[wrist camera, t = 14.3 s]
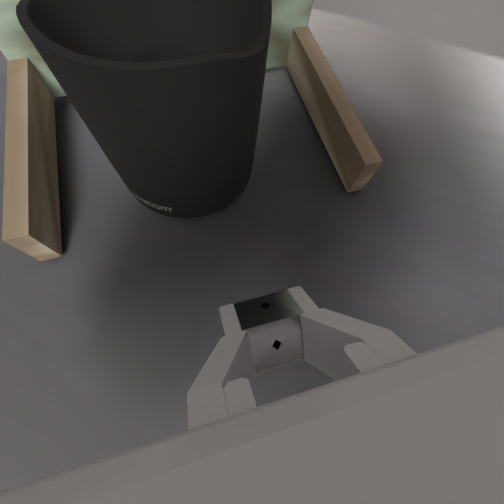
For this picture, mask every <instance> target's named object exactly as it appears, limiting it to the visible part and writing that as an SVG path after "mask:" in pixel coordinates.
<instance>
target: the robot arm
mask: <svg viewBox="0 0 504 504" xmlns="http://www.w3.org/2000/svg"><path fill="white" fill-rule="evenodd" d="M219 312H220V316H221V320H222V325H223V329H224V333H225V336H223V337H221V338H220V340H219V341H218V343H217V345H216V346H215V348H214V349H213V351H212V353H211V354H210V356H209V358H208V359H207V361H206V363H205V364H204V366H203V368H202V369H201V371H200V373H199V374H198V376H197V378H196V379H195V381H194V383H193V384H192V386H191V388H190V389H189V391H188V393H187V410H188V430H186V431H183V432H180V433H177V434H174V435H171V436H168V437H165V438H162V439H159V440H156V441H153V442H150V443H147V444H144V445H141V446H138V447H135V448H132V449H129V450H126V451H123V452H120V453H117V454H114V455H111V456H108V457H105V458H102V459H99V460H96V461H93V462H90V463H87V464H84V465H81V466H78V467H75V468H72V469H69V470H66V471H63V472H60V473H57V474H54V475H51V476H48V477H45V478H42V479H39V480H36V481H33V482H30V483H27V484H24V485H21V486H18V487H15V488H12V489H9V490H6V491H3V492H0V504H504V325H502V326H499V327H496V328H493V329H490V330H487V331H484V332H481V333H478V334H475V335H472V336H469V337H466V338H463V339H460V340H457V341H454V342H451V343H448V344H445V345H442V346H439V347H436V348H433V349H430V350H427V351H424V352H421V353H418V354H417V353H415V352H414V351H413V350H412V349H411V348H410V347H409V346H408V345H407V344H406V343H405V342H403V341H402V340H401V339H400V338H399V337H398V336H397V335H396V334H395V333H394V332H392V331H391V330H389V329H386V328H383V327H380V326H377V325H374V324H371V323H368V322H365V321H362V320H359V319H356V318H353V317H350V316H347V315H343V314H340V313H337V312H334V311H331V310H328V309H325V308H321V309H319V308H318V306H317V305H316V304H315V303H314V302H313V300H312V299H311V298H310V297H309V296H308V294H307V293H306V292H305V291H304V290H303V288H302V287H301V286H299V285H298V286H295V287H292V288H288V289H286V290H282V291H279V292H275V293H272V294H268V295H265V296H261V297H256V298H252V299H248V300H244V301H240V302H236V303H233V304H232V303H231V304H228V305H224V306H220V307H219ZM302 359H304V360H305V361H307V362H308V363H310V364H311V365H313V366H314V367H316V368H317V369H319V370H320V371H322V372H324V373H325V374H327V375H328V376H330V377H331V378H333V379H334V380H336V381H334V382H331V383H328V384H325V385H322V386H319V387H316V388H313V389H310V390H307V391H304V392H301V393H298V394H295V395H292V396H289V397H286V398H283V399H280V400H277V401H274V402H271V403H268V404H265V405H262V406H259V407H257V406H256V403H255V399H254V396H253V393H252V389H253V385H254V382H255V378H256V374H258V373H260V372H263V371H266V370H269V369H272V368H275V367H278V366H281V365H285V364H288V363H292V362H295V361H299V360H302Z"/></svg>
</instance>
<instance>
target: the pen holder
mask: <svg viewBox="0 0 504 504" xmlns="http://www.w3.org/2000/svg"><path fill="white" fill-rule="evenodd" d="M16 15H17V18H18V21H19V23H20V25H21V26H22V28H23V30H24V31H25V33H26V34H27V36H28V37H29V39H30V40H31V42H32V43H33V45H34V46H35V48H36V49H37V51H38V52H39V54H40V56H41V57H42V59H43V60H44V62H45V63H46V65H47V66H48V68H49V69H50V71H51V72H52V74H53V75H54V77H55V78H56V80H57V81H58V83H59V84H60V86H61V88H62V89H63V91H64V92H65V94H66V95H67V97H68V98H69V100H70V101H71V103H72V104H73V106H74V107H75V109H76V110H77V112H78V113H79V115H80V117H81V118H82V120H83V121H84V123H85V124H86V126H87V127H88V129H89V130H90V132H91V133H92V135H93V136H94V138H95V139H96V141H97V142H98V144H99V146H100V147H101V149H102V150H103V152H104V153H105V155H106V156H107V158H108V159H109V161H110V162H111V164H112V165H113V167H114V168H115V170H116V171H117V173H118V174H119V175H120V177H121V178H122V180H123V181H124V183H125V184H126V186H127V187H128V189H129V190H130V191H131V193H132V194H133V195H134V196H135V197H136V198H137V200H138V201H139V202H141V203H142V204H143V205H144V206H146V207H148V208H149V209H151V210H153V211H155V212H157V213H160V214H163V215H167V216H171V217H178V218H192V217H200V216H205V215H208V214H211V213H214V212H216V211H219V210H221V209H223V208H224V207H226V206H228V205H229V204H230V203H232V202H233V201H234V200H235V199H236V198H237V197H238V196H239V195H240V194H241V193H242V192H243V190H244V189H245V187H246V185H247V183H248V181H249V178H250V175H251V170H252V165H253V158H254V151H255V145H256V138H257V131H258V123H259V115H260V108H261V100H262V92H263V85H264V77H265V69H266V62H267V54H268V46H269V39H270V31H271V22H272V1H271V0H20V1H19V3H18V4H17V5H16Z"/></svg>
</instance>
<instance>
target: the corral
mask: <svg viewBox="0 0 504 504" xmlns="http://www.w3.org/2000/svg"><path fill="white" fill-rule="evenodd" d="M19 1H20V0H0V50H1V52H2V53H3V54H4V56H5V57H6V58H7V60H8V64H7V97H6V130H5V163H4V195H3V228H2V241H4V242H6V243H8V244H10V245H12V246H13V247H15V248H17V249H19V250H21V251H23V252H24V253H26V254H28V255H30V256H32V257H34V258H36V259H37V260H39V261H44V260H48V259H53V258H57V257H62V244H61V224H60V205H59V186H58V166H57V147H56V127H55V108H54V97H61V96H67V95H66V94H65V92H64V91H63V89H62V88H61V86H60V84H59V83H58V81H57V80H56V78H55V77H54V75H53V74H52V72H51V71H50V69H49V68H48V66H47V65H46V63H45V62H44V60H43V59H42V57H41V56H40V54H39V52H38V51H37V49H36V48H35V46H34V45H33V43H32V42H31V40H30V39H29V37H28V36H27V34H26V33H25V31H24V30H23V28H22V26H21V25H20V23H19V21H18V18H17V15H16V5H17V4H18V3H19ZM271 1H272V22H271V31H270V39H269V46H268V54H267V62H266V69H267V68H275V67H282V66H287V68H288V70H289V72H290V75H291V77H292V79H293V81H294V83H295V85H296V87H297V89H298V91H299V93H300V95H301V97H302V100H303V102H304V104H305V106H306V108H307V110H308V112H309V114H310V116H311V118H312V120H313V123H314V125H315V127H316V129H317V131H318V133H319V135H320V137H321V139H322V141H323V143H324V145H325V148H326V150H327V152H328V154H329V156H330V158H331V160H332V162H333V164H334V166H335V168H336V170H337V173H338V175H339V177H340V179H341V181H342V183H343V185H344V187H345V189H346V191H347V193H349V192H353V191H357V190H362V189H363V188H364V186H365V185H366V184H367V182H368V181H369V180H370V178H371V177H372V176H373V174H374V173H375V172H376V170H377V169H378V168H379V166H380V165H381V163H382V162H383V160H382V158H381V157H380V155H379V153H378V151H377V150H376V148H375V146H374V144H373V142H372V141H371V139H370V137H369V135H368V133H367V132H366V130H365V128H364V126H363V124H362V123H361V121H360V119H359V117H358V116H357V114H356V112H355V110H354V108H353V107H352V105H351V103H350V101H349V99H348V98H347V96H346V94H345V92H344V91H343V89H342V87H341V85H340V83H339V82H338V80H337V78H336V76H335V74H334V73H333V71H332V69H331V67H330V65H329V64H328V62H327V60H326V58H325V57H324V55H323V53H322V51H321V49H320V48H319V46H318V44H317V42H316V40H315V39H314V37H313V35H312V33H311V31H310V30H309V28H308V22H309V17H310V13H311V8H312V4H313V0H271Z"/></svg>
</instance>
